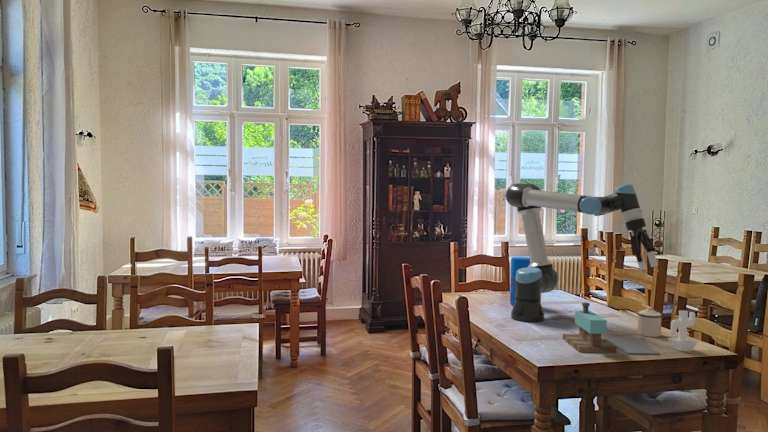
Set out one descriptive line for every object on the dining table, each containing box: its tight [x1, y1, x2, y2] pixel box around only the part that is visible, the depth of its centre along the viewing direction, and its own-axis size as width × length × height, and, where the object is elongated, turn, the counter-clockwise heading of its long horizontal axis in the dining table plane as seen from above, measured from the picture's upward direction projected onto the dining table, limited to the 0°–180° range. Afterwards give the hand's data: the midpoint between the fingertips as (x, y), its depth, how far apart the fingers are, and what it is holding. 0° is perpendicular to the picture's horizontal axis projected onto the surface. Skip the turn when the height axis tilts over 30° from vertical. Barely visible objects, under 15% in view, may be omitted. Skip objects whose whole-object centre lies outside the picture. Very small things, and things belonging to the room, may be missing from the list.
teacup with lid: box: [637, 306, 663, 338], centre depth 225 cm, size 12×9×12 cm
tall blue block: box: [509, 256, 530, 307], centre depth 279 cm, size 11×11×25 cm
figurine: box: [667, 310, 698, 352], centre depth 202 cm, size 7×9×15 cm
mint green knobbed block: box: [574, 310, 608, 335], centre depth 205 cm, size 16×6×5 cm, turn 0°
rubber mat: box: [604, 337, 661, 356], centre depth 206 cm, size 20×12×1 cm, turn 0°
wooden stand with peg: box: [562, 301, 618, 353], centre depth 206 cm, size 18×14×16 cm
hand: (649, 268), depth 225 cm, fingers open, 13 cm apart
